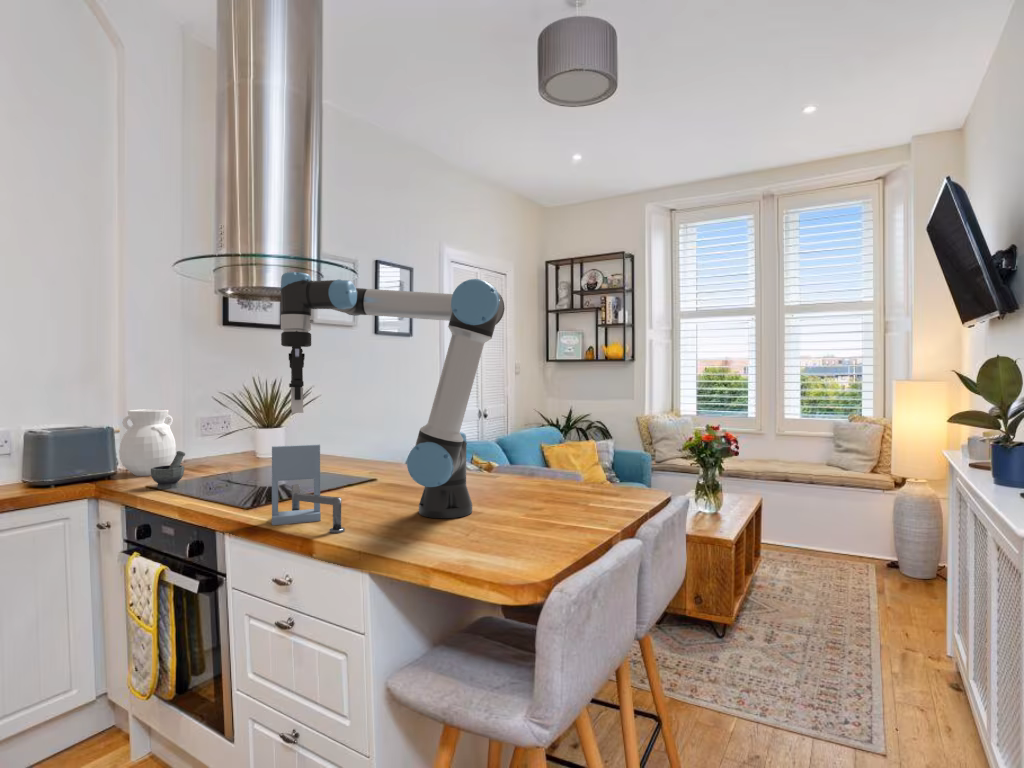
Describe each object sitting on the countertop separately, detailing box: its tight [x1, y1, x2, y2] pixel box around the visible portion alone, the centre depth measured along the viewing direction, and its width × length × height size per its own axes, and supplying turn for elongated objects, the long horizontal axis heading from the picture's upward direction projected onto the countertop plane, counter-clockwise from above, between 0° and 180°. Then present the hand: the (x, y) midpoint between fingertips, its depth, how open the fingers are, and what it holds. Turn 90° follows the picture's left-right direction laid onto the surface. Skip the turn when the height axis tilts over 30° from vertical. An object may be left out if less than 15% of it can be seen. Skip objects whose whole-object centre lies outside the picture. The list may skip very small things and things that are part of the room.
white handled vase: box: [118, 408, 177, 477], centre depth 219 cm, size 19×18×25 cm
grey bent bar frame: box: [291, 484, 346, 534], centre depth 147 cm, size 27×8×8 cm, turn 46°
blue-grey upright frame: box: [271, 444, 322, 526], centre depth 151 cm, size 6×12×20 cm, turn 112°
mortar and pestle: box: [150, 450, 186, 490], centre depth 194 cm, size 11×9×12 cm
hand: (297, 411), depth 150 cm, fingers open, 13 cm apart
